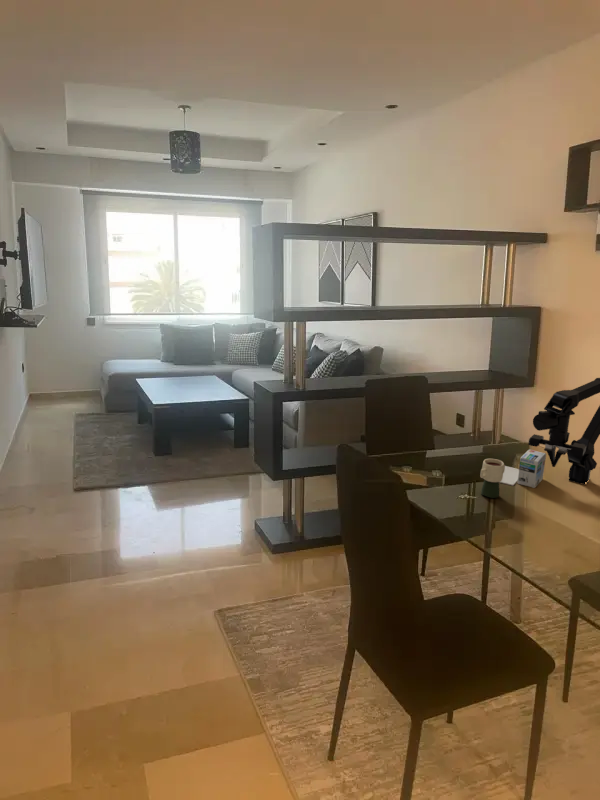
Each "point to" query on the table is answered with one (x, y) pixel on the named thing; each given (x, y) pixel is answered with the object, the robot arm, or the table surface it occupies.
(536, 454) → the light bulb box
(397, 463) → the table surface
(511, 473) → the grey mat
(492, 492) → the character mug
